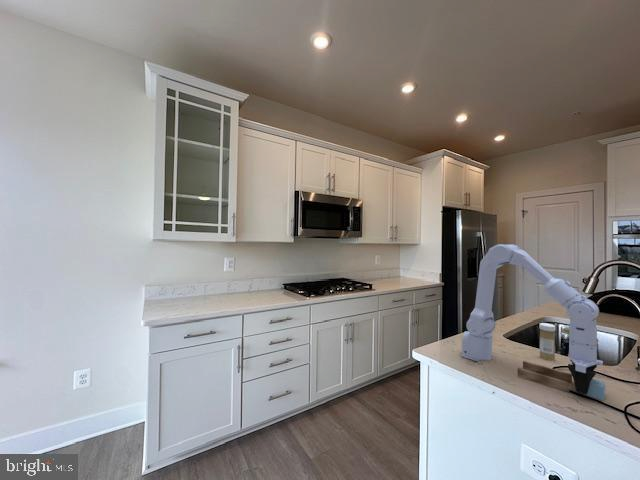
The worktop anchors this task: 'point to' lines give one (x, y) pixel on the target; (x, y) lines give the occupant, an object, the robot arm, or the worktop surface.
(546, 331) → the sprinkles bottle
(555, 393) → the worktop surface
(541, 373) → the walnut channel
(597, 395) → the blue block
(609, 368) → the worktop surface
